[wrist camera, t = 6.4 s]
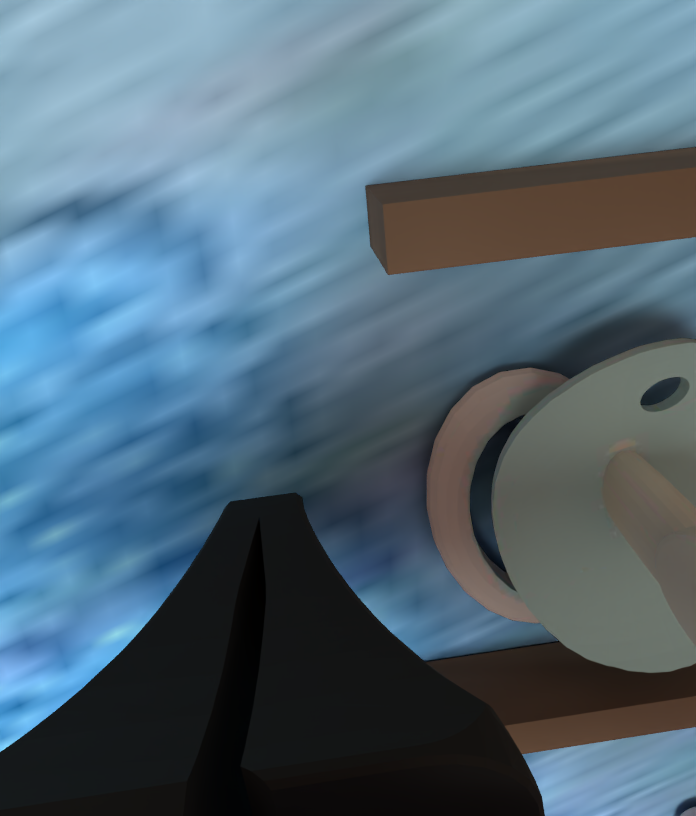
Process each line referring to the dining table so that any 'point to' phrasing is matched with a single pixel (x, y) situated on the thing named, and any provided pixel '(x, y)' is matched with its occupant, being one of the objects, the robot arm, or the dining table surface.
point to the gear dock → (522, 238)
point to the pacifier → (582, 505)
